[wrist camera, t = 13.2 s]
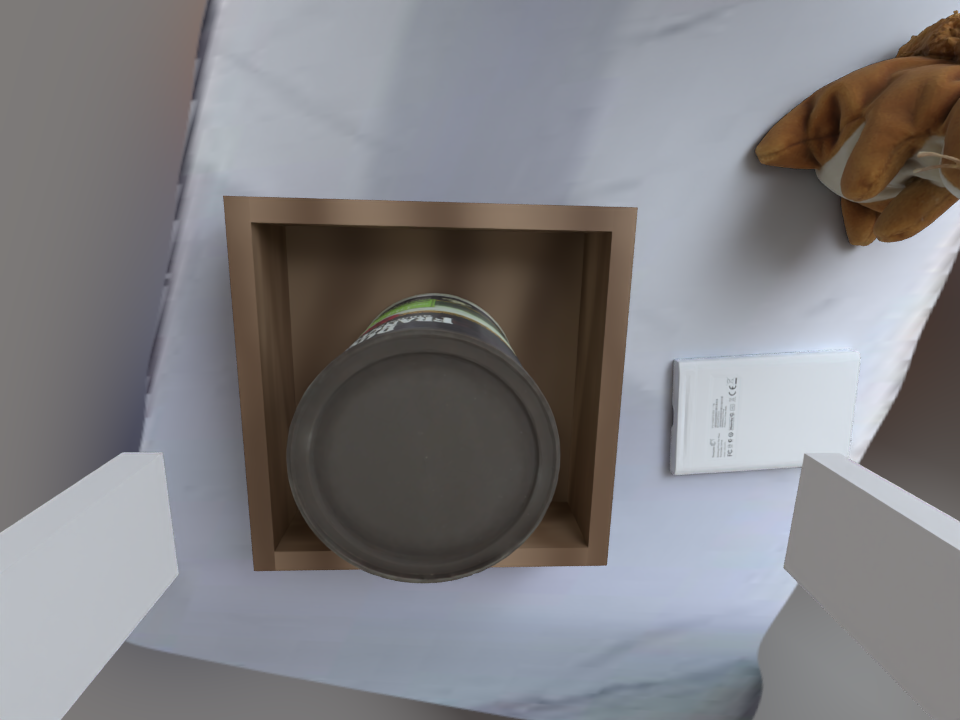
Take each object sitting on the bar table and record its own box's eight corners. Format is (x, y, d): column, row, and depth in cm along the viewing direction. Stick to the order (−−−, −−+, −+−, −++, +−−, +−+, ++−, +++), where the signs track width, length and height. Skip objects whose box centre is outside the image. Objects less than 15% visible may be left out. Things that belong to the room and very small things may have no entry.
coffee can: (322, 341, 32) (228, 413, 19) (468, 263, 32) (483, 277, 18) (404, 475, 35) (375, 627, 21) (541, 404, 34) (605, 512, 20)
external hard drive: (831, 456, 38) (665, 467, 37) (844, 346, 36) (670, 357, 35) (848, 465, 36) (675, 477, 36) (862, 351, 35) (680, 362, 34)
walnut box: (600, 214, 33) (637, 207, 26) (579, 510, 37) (606, 565, 31) (268, 205, 31) (223, 196, 25) (288, 513, 36) (254, 571, 29)
